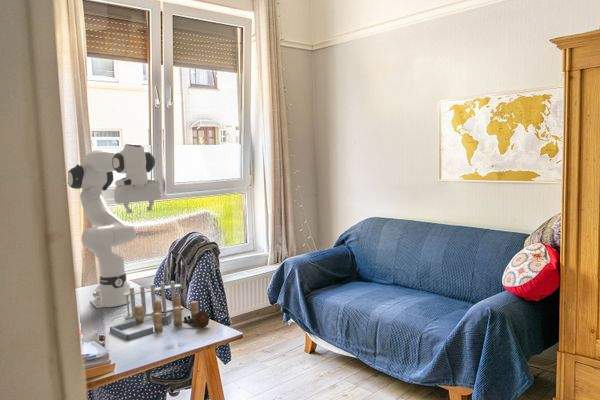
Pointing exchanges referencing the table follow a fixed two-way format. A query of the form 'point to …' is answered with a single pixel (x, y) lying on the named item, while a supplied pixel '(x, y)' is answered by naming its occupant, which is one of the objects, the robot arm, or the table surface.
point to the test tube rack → (151, 297)
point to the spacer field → (158, 310)
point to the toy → (198, 319)
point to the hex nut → (165, 317)
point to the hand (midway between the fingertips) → (139, 211)
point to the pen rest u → (117, 331)
